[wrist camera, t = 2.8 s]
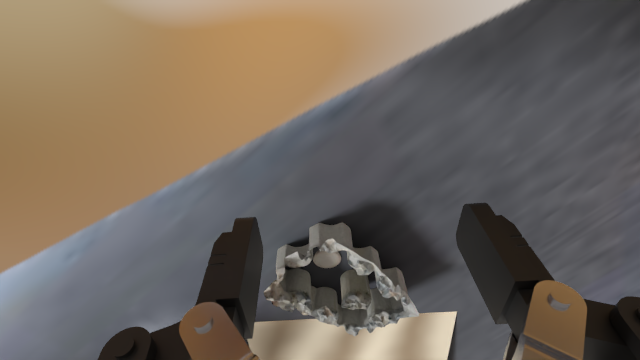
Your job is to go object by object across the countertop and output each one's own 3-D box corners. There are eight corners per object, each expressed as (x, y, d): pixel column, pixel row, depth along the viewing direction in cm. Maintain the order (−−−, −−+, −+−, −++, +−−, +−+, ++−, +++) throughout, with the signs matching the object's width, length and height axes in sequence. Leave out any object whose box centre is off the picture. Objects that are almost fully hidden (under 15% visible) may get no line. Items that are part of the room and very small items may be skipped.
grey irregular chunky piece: (262, 251, 26) (255, 296, 23) (339, 204, 24) (344, 248, 20) (343, 311, 31) (346, 356, 28) (414, 278, 29) (427, 323, 25)
